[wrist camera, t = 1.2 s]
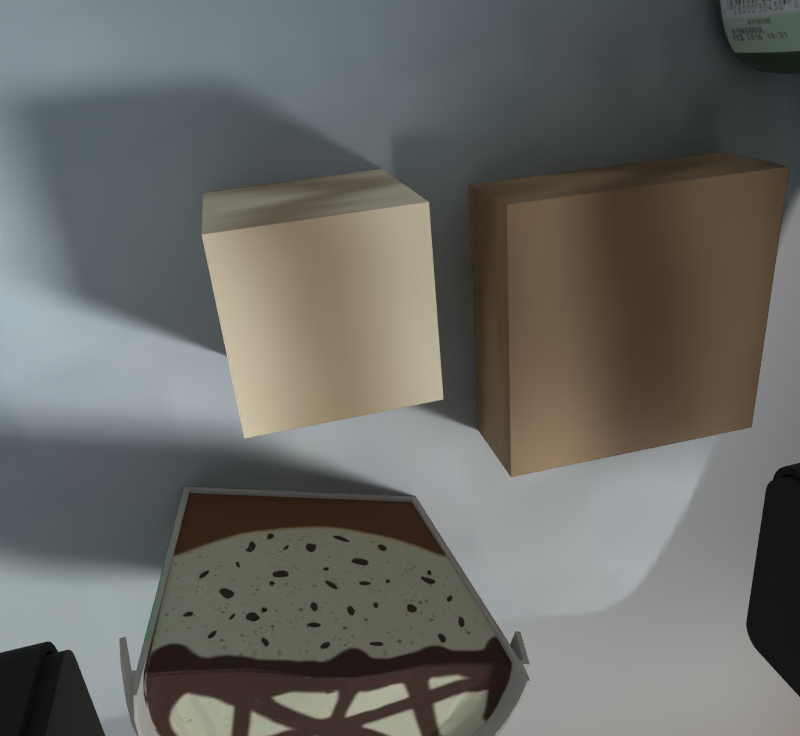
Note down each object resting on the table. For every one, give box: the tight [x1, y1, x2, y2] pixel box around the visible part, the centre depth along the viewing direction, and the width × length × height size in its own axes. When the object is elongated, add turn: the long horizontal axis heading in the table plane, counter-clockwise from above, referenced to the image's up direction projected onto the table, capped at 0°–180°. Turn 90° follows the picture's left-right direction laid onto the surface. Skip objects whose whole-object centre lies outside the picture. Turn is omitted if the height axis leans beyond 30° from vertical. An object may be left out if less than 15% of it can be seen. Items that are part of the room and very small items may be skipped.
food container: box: [120, 486, 530, 736], centre depth 26 cm, size 12×6×10 cm, turn 77°
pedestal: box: [469, 152, 789, 477], centre depth 27 cm, size 10×10×4 cm
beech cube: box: [202, 169, 443, 438], centre depth 23 cm, size 6×6×6 cm
